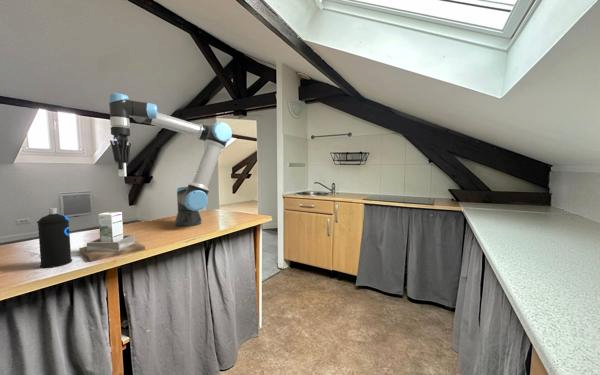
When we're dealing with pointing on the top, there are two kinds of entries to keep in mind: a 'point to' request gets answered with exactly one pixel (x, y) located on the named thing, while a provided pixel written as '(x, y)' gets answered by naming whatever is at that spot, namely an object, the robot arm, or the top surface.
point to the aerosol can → (54, 240)
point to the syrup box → (110, 226)
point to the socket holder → (110, 248)
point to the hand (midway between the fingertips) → (122, 176)
